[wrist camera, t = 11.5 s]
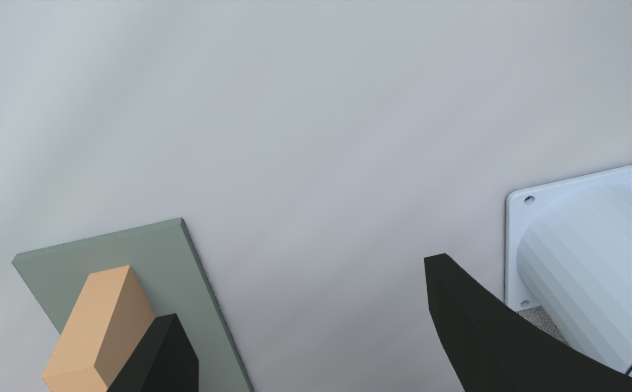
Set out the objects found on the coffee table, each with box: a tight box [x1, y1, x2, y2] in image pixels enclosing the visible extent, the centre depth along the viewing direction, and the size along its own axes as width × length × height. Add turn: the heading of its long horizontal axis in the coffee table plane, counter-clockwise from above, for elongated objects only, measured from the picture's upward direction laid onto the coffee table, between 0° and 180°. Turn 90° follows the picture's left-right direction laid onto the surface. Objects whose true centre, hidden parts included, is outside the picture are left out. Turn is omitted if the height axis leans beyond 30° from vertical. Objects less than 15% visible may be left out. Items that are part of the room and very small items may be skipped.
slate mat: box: [12, 218, 254, 392], centre depth 27 cm, size 8×16×1 cm, turn 11°
